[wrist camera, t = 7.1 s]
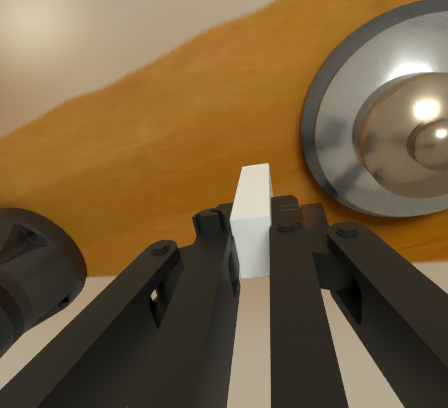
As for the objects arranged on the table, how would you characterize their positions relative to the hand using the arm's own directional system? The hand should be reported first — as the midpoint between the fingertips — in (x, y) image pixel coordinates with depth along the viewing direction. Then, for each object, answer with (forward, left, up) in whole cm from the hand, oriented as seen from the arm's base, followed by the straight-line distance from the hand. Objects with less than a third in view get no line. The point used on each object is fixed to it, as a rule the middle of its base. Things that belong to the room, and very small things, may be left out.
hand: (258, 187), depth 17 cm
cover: (+11, 0, -9) cm, 14 cm away
